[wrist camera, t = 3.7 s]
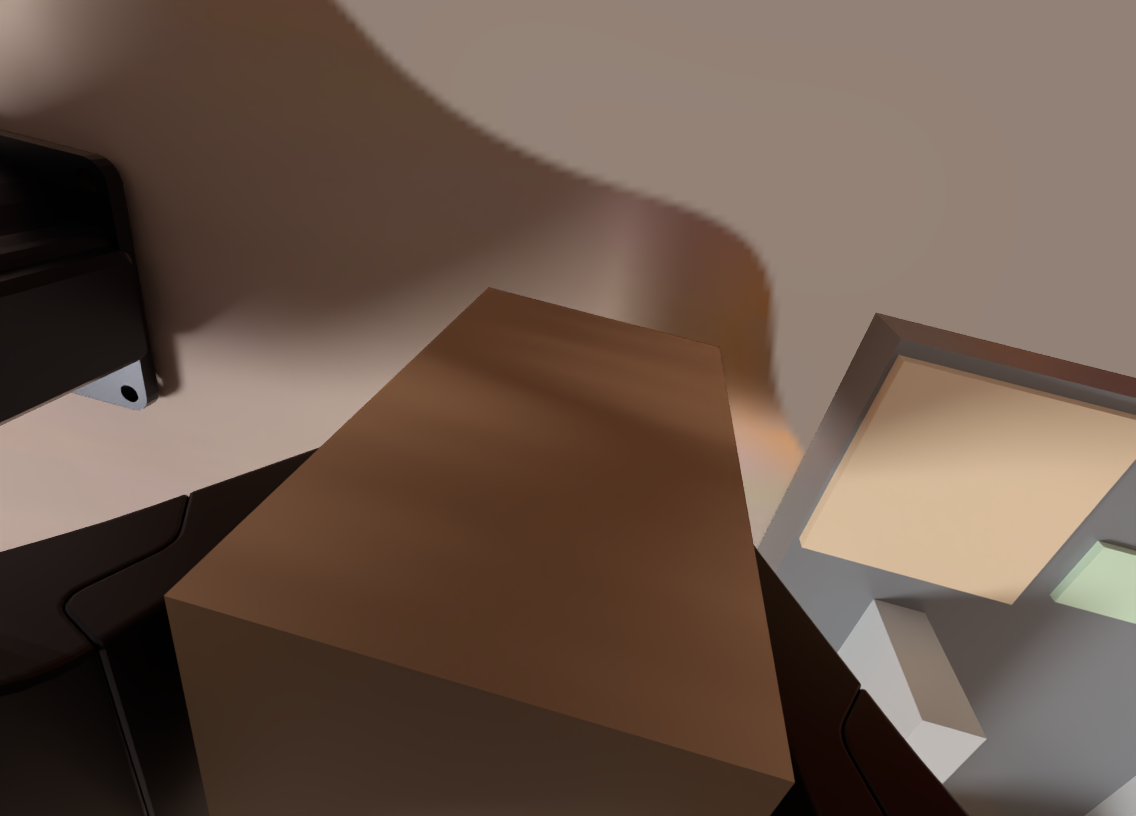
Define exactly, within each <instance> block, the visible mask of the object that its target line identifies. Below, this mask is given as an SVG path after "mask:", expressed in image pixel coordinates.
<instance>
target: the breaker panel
mask: <svg viewBox="0 0 1136 816" xmlns="http://www.w3.org/2000/svg"><path fill="white" fill-rule="evenodd" d="M758 551H759V552H760V554H761V555H762V556H763V558H764V559H765V560H766V561H767V563H768V564H769V565H770V567H771V568H772V569H773V570H774V572H775V573H776V574H777V576H778V577H779V578H780V579H781V581H782V582H783V583H784V585H785V586H786V587H787V589H788V590H789V591H790V592H791V594H792V595H793V596H794V598H795V599H796V600H797V601H798V603H799V604H800V605H801V607H802V608H803V609H804V611H805V612H806V613H807V614H808V616H809V617H810V618H811V620H812V621H813V622H814V623H815V625H816V626H817V627H818V629H819V630H820V631H821V633H822V634H823V635H824V636H825V638H826V639H827V640H828V642H829V643H830V644H831V645H832V647H833V648H834V649H835V651H836V652H837V653H838V655H839V656H840V657H841V658H842V660H843V661H844V662H845V664H846V665H847V666H848V667H849V669H850V670H851V671H852V673H853V674H854V675H855V677H856V678H857V679H858V680H859V682H860V683H861V688H860V689H865V690H867V692H868V693H869V694H870V696H871V697H872V698H873V699H874V701H875V702H876V703H877V705H878V706H879V707H880V709H881V710H882V711H883V712H884V714H885V715H886V716H887V718H888V719H889V720H890V721H891V722H892V724H893V725H894V726H895V727H896V729H897V730H898V731H899V732H900V734H901V735H902V736H903V737H904V739H905V740H906V741H907V742H908V744H909V745H910V746H911V747H912V749H913V750H914V751H915V752H916V754H917V755H918V756H919V757H920V759H921V760H922V761H923V762H924V763H925V764H926V766H927V767H928V768H929V769H930V770H931V771H932V773H933V774H934V775H935V776H936V777H937V778H938V780H939V781H940V782H941V783H942V784H943V785H944V787H945V788H946V789H947V790H948V791H949V792H950V794H951V795H952V796H953V797H954V798H955V799H956V801H957V802H958V803H959V804H960V805H961V806H962V807H963V809H964V810H965V811H966V812H967V813H968V814H969V815H970V816H1136V378H1133V377H1129V376H1125V375H1121V374H1117V373H1113V372H1109V371H1105V370H1101V369H1097V368H1093V367H1089V366H1085V365H1081V364H1077V363H1073V362H1069V361H1065V360H1061V359H1058V358H1054V357H1050V356H1046V355H1042V354H1037V353H1033V352H1030V351H1026V350H1022V349H1018V348H1013V347H1010V346H1006V345H1002V344H998V343H994V342H990V341H986V340H982V339H978V338H974V337H969V336H966V335H962V334H958V333H954V332H950V331H946V330H942V329H938V328H934V327H930V326H926V325H922V324H918V323H914V322H910V321H906V320H902V319H898V318H894V317H891V316H887V315H883V314H879V313H876V314H875V316H874V318H873V320H872V322H871V324H870V326H869V328H868V330H867V332H866V334H865V336H864V338H863V340H862V342H861V344H860V346H859V348H858V350H857V352H856V354H855V356H854V358H853V360H852V362H851V364H850V366H849V368H848V370H847V372H846V374H845V376H844V378H843V380H842V382H841V384H840V386H839V388H838V390H837V392H836V394H835V396H834V398H833V400H832V402H831V404H830V406H829V408H828V410H827V412H826V414H825V416H824V418H823V420H822V422H821V424H820V426H819V428H818V430H817V432H816V434H815V436H814V438H813V440H812V442H811V444H810V446H809V448H808V450H807V452H806V454H805V456H804V458H803V460H802V462H801V464H800V466H799V468H798V470H797V472H796V474H795V476H794V478H793V480H792V482H791V484H790V486H789V488H788V490H787V492H786V494H785V496H784V498H783V500H782V502H781V504H780V506H779V508H778V510H777V512H776V514H775V516H774V518H773V520H772V522H771V524H770V526H769V528H768V530H767V532H766V534H765V536H764V538H763V540H762V542H761V544H760V546H759V548H758Z"/></svg>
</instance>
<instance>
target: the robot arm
mask: <svg viewBox="0 0 1136 816" xmlns="http://www.w3.org/2000/svg"><path fill="white" fill-rule="evenodd" d="M92 174H93V175H94V176H95V178H96V180H97V184H96V183H95V182H94V179H93V177H92ZM69 393H75V394H78V395H82V396H86V397H89V398H93V399H96V400H100V401H104V402H107V403H111V404H114V405H118V406H122V407H125V408H129V409H132V410H141V409H143V408H145V407H147V406H149V405H151V404H152V403H154V402H156V400H157V399H158V394H159V391H158V386H157V380H156V374H155V368H154V362H153V356H152V351H151V345H150V339H149V333H148V327H147V321H146V316H145V310H144V304H143V298H142V292H141V286H140V281H139V275H138V269H137V263H136V257H135V251H134V246H133V240H132V234H131V228H130V222H129V216H128V211H127V205H126V199H125V193H124V187H123V182H122V179H121V176H120V174H119V172H118V171H117V169H116V168H115V166H114V165H113V164H112V163H111V162H110V161H109V160H108V159H106V158H104V157H102V156H100V155H98V154H94V153H90V152H86V151H82V150H78V149H74V148H70V147H67V146H63V145H59V144H55V143H51V142H47V141H43V140H39V139H35V138H31V137H27V136H23V135H19V134H16V133H12V132H8V131H4V130H0V426H1V425H3V424H5V423H7V422H9V421H11V420H13V419H15V418H18V417H20V416H22V415H24V414H26V413H28V412H30V411H32V410H35V409H37V408H39V407H41V406H43V405H45V404H47V403H49V402H52V401H54V400H56V399H58V398H60V397H62V396H64V395H67V394H69ZM319 448H320V447H319ZM319 448H317V449H314V450H311V451H308V452H305V453H302V454H299V455H297V456H294V457H291V458H288V459H285V460H282V461H279V462H277V463H274V464H271V465H268V466H265V467H262V468H260V469H257V470H254V471H251V472H248V473H245V474H242V475H239V476H237V477H234V478H231V479H228V480H225V481H222V482H219V483H217V484H214V485H211V486H208V487H205V488H202V489H199V490H197V491H194V492H192V493H190V495H189V497H188V496H187V495H182V496H179V497H176V498H173V499H171V500H168V501H165V502H162V503H159V504H156V505H153V506H150V507H147V508H144V509H141V510H138V511H135V512H132V513H129V514H126V515H123V516H120V517H117V518H114V519H111V520H108V521H105V522H102V523H99V524H95V525H92V526H89V527H85V528H82V529H79V530H75V531H72V532H69V533H65V534H62V535H58V536H55V537H52V538H48V539H45V540H41V541H38V542H34V543H31V544H27V545H24V546H20V547H17V548H13V549H10V550H6V551H3V552H0V816H209V811H208V806H207V801H206V797H205V792H204V787H203V782H202V777H201V773H200V768H199V763H198V758H197V753H196V748H195V744H194V739H193V734H192V729H191V724H190V720H189V715H188V710H187V705H186V700H185V695H184V691H183V686H182V681H181V676H180V671H179V667H178V662H177V657H176V652H175V647H174V642H173V638H172V633H171V628H170V623H169V618H168V614H167V609H166V604H165V599H164V595H165V594H166V593H167V592H168V591H169V590H170V589H171V588H172V587H174V586H175V585H176V584H177V583H178V582H179V581H180V580H181V579H182V578H183V577H184V576H185V575H186V574H187V573H188V572H189V571H190V570H191V569H192V568H194V567H195V566H196V565H197V564H198V563H199V562H200V561H201V560H202V559H203V558H204V557H205V556H206V555H207V554H208V553H209V552H210V551H211V550H212V549H214V548H215V547H216V546H217V545H218V544H219V543H220V542H221V541H222V540H223V539H224V538H225V537H226V536H227V535H228V534H229V533H230V532H231V531H233V530H234V529H235V528H236V527H237V526H238V525H239V524H240V523H241V522H242V521H243V520H244V519H245V518H246V517H247V516H248V515H249V514H250V513H251V512H253V511H254V510H255V509H256V508H257V507H258V506H259V505H260V504H261V503H262V502H263V501H264V500H265V499H266V498H267V497H268V496H269V495H270V494H272V493H273V492H274V491H275V490H276V489H277V488H278V487H279V486H280V485H281V484H282V483H283V482H284V481H285V480H286V479H287V478H288V477H289V476H290V475H292V474H293V473H294V472H295V471H296V470H297V469H298V468H299V467H300V466H301V465H302V464H303V463H304V462H305V461H306V460H307V459H308V458H309V457H310V456H312V455H313V454H314V453H315V452H316V451H317V450H318V449H319ZM754 550H755V556H756V562H757V567H758V573H759V579H760V585H761V590H762V596H763V602H764V608H765V613H766V619H767V625H768V631H769V636H770V642H771V648H772V654H773V659H774V665H775V671H776V677H777V682H778V688H779V694H780V700H781V705H782V711H783V717H784V723H785V728H786V734H787V740H788V746H789V751H790V757H791V763H792V769H793V774H794V780H795V783H794V784H793V786H792V787H791V788H790V790H789V791H788V792H787V794H786V795H785V796H784V798H783V799H782V800H781V802H780V803H779V804H778V806H777V807H776V808H775V810H774V811H773V812H772V814H771V815H770V816H970V815H969V814H968V813H967V812H966V811H965V810H964V809H963V807H962V806H961V805H960V804H959V803H958V802H957V801H956V799H955V798H954V797H953V796H952V795H951V794H950V792H949V791H948V790H947V789H946V788H945V787H944V785H943V784H942V783H941V782H940V781H939V780H938V778H937V777H936V776H935V775H934V774H933V773H932V771H931V770H930V769H929V768H928V767H927V766H926V764H925V763H924V762H923V761H922V760H921V759H920V757H919V756H918V755H917V754H916V752H915V751H914V750H913V749H912V747H911V746H910V745H909V744H908V742H907V741H906V740H905V739H904V737H903V736H902V735H901V734H900V732H899V731H898V730H897V729H896V727H895V726H894V725H893V724H892V722H891V721H890V720H889V719H888V718H887V716H886V715H885V714H884V712H883V711H882V710H881V709H880V707H879V706H878V705H877V703H876V702H875V701H874V699H873V698H872V697H871V696H870V694H869V693H868V692H867V690H865V689H860V688H861V683H860V682H859V680H858V679H857V678H856V677H855V675H854V674H853V673H852V671H851V670H850V669H849V667H848V666H847V665H846V664H845V662H844V661H843V660H842V658H841V657H840V656H839V655H838V653H837V652H836V651H835V649H834V648H833V647H832V645H831V644H830V643H829V642H828V640H827V639H826V638H825V636H824V635H823V634H822V633H821V631H820V630H819V629H818V627H817V626H816V625H815V623H814V622H813V621H812V620H811V618H810V617H809V616H808V614H807V613H806V612H805V611H804V609H803V608H802V607H801V605H800V604H799V603H798V601H797V600H796V599H795V598H794V596H793V595H792V594H791V592H790V591H789V590H788V589H787V587H786V586H785V585H784V583H783V582H782V581H781V579H780V578H779V577H778V576H777V574H776V573H775V572H774V570H773V569H772V568H771V567H770V565H769V564H768V563H767V561H766V560H765V559H764V558H763V556H762V555H761V554H760V552H759V551H758V550H757V548H756V547H755V546H754Z"/></svg>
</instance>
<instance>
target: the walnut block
mask: <svg viewBox="0 0 1136 816" xmlns="http://www.w3.org/2000/svg"><path fill="white" fill-rule="evenodd" d="M164 599H165V604H166V609H167V614H168V618H169V623H170V628H171V633H172V638H173V642H174V647H175V652H176V657H177V662H178V667H179V671H180V676H181V681H182V686H183V691H184V695H185V700H186V705H187V710H188V715H189V720H190V724H191V729H192V734H193V739H194V744H195V748H196V753H197V758H198V763H199V768H200V773H201V777H202V782H203V787H204V792H205V797H206V801H207V806H208V811H209V816H770V815H771V814H772V812H773V811H774V810H775V808H776V807H777V806H778V804H779V803H780V802H781V800H782V799H783V798H784V796H785V795H786V794H787V792H788V791H789V790H790V788H791V787H792V786H793V784H794V783H795V780H794V774H793V769H792V763H791V757H790V751H789V746H788V740H787V734H786V728H785V723H784V717H783V711H782V705H781V700H780V694H779V688H778V682H777V677H776V671H775V665H774V659H773V654H772V648H771V642H770V636H769V631H768V625H767V619H766V613H765V608H764V602H763V596H762V590H761V585H760V579H759V573H758V567H757V562H756V556H755V550H754V544H753V539H752V533H751V527H750V521H749V516H748V510H747V504H746V498H745V493H744V487H743V481H742V475H741V470H740V464H739V458H738V452H737V447H736V441H735V435H734V429H733V424H732V418H731V412H730V406H729V401H728V395H727V389H726V383H725V378H724V372H723V366H722V360H721V355H720V349H719V347H717V346H713V345H709V344H705V343H701V342H697V341H694V340H690V339H686V338H682V337H678V336H674V335H670V334H667V333H663V332H659V331H655V330H651V329H647V328H643V327H640V326H636V325H632V324H628V323H624V322H620V321H616V320H613V319H609V318H605V317H601V316H597V315H593V314H589V313H585V312H582V311H578V310H574V309H570V308H566V307H562V306H558V305H555V304H551V303H547V302H543V301H539V300H535V299H531V298H528V297H524V296H520V295H516V294H512V293H508V292H504V291H501V290H497V289H493V288H488V289H486V290H485V291H484V292H483V293H482V294H481V295H480V296H479V297H478V298H477V299H476V300H475V301H474V302H473V303H472V304H471V305H470V306H469V307H468V308H466V309H465V310H464V311H463V312H462V313H461V314H460V315H459V316H458V317H457V318H456V319H455V320H454V321H453V322H452V323H451V324H450V325H449V326H447V327H446V328H445V329H444V330H443V331H442V332H441V333H440V334H439V335H438V336H437V337H436V338H435V339H434V340H433V341H432V342H431V343H430V344H429V345H427V346H426V347H425V348H424V349H423V350H422V351H421V352H420V353H419V354H418V355H417V356H416V357H415V358H414V359H413V360H412V361H411V362H410V363H409V364H407V365H406V366H405V367H404V368H403V369H402V370H401V371H400V372H399V373H398V374H397V375H396V376H395V377H394V378H393V379H392V380H391V381H390V382H388V383H387V384H386V385H385V386H384V387H383V388H382V389H381V390H380V391H379V392H378V393H377V394H376V395H375V396H374V397H373V398H372V399H371V400H370V401H368V402H367V403H366V404H365V405H364V406H363V407H362V408H361V409H360V410H359V411H358V412H357V413H356V414H355V415H354V416H353V417H352V418H351V419H349V420H348V421H347V422H346V423H345V424H344V425H343V426H342V427H341V428H340V429H339V430H338V431H337V432H336V433H335V434H334V435H333V436H332V437H331V438H329V439H328V440H327V441H326V442H325V443H324V444H323V445H322V446H321V447H320V448H319V449H318V450H317V451H316V452H315V453H314V454H313V455H312V456H310V457H309V458H308V459H307V460H306V461H305V462H304V463H303V464H302V465H301V466H300V467H299V468H298V469H297V470H296V471H295V472H294V473H293V474H292V475H290V476H289V477H288V478H287V479H286V480H285V481H284V482H283V483H282V484H281V485H280V486H279V487H278V488H277V489H276V490H275V491H274V492H273V493H272V494H270V495H269V496H268V497H267V498H266V499H265V500H264V501H263V502H262V503H261V504H260V505H259V506H258V507H257V508H256V509H255V510H254V511H253V512H251V513H250V514H249V515H248V516H247V517H246V518H245V519H244V520H243V521H242V522H241V523H240V524H239V525H238V526H237V527H236V528H235V529H234V530H233V531H231V532H230V533H229V534H228V535H227V536H226V537H225V538H224V539H223V540H222V541H221V542H220V543H219V544H218V545H217V546H216V547H215V548H214V549H212V550H211V551H210V552H209V553H208V554H207V555H206V556H205V557H204V558H203V559H202V560H201V561H200V562H199V563H198V564H197V565H196V566H195V567H194V568H192V569H191V570H190V571H189V572H188V573H187V574H186V575H185V576H184V577H183V578H182V579H181V580H180V581H179V582H178V583H177V584H176V585H175V586H174V587H172V588H171V589H170V590H169V591H168V592H167V593H166V594H165V595H164Z"/></svg>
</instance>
